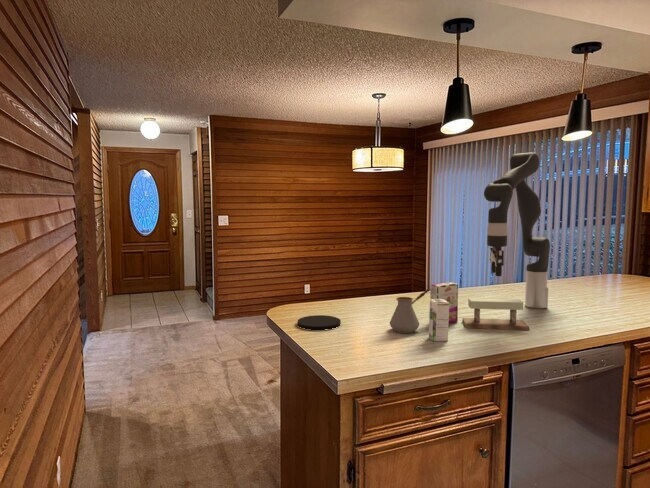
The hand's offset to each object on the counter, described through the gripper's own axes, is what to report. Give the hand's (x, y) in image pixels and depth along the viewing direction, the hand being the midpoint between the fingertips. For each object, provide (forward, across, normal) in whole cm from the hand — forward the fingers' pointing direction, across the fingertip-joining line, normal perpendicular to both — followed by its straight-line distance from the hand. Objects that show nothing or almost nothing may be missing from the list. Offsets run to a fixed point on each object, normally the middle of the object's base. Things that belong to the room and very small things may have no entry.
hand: (496, 274), depth 183 cm
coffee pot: (+21, -9, +33) cm, 40 cm away
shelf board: (+14, 0, 0) cm, 14 cm away
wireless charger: (+21, -9, +71) cm, 75 cm away
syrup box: (+21, -22, +24) cm, 39 cm away
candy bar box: (+21, +2, +20) cm, 29 cm away
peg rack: (+21, 0, 0) cm, 21 cm away
